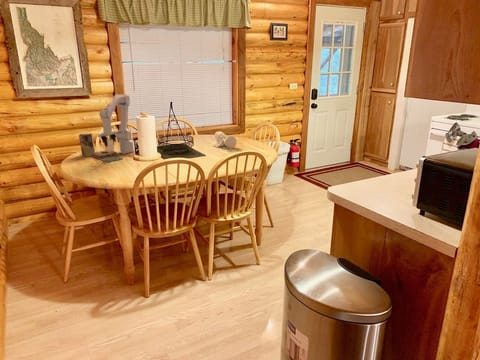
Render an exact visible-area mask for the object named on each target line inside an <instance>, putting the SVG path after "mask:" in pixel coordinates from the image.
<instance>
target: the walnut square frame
mask: <svg viewBox="0 0 480 360" xmlns="http://www.w3.org/2000/svg"><path fill="white" fill-rule="evenodd" d="M118 155H119V154H118V152H117V151H115V150H114V151H109V152H108V151H106V150H101V151H95V152H94V153H93V156H92V157H94V158H96V159H98V160H101V159H103V158H108V157H113V156H118ZM118 157H119V156H118Z"/></svg>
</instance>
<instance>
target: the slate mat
mask: <svg viewBox="0 0 480 360" xmlns="http://www.w3.org/2000/svg"><path fill="white" fill-rule="evenodd" d="M100 160H101V161H103V162H104V163H111V162H115V161H121V160H123V158H122V157H120V156H113V157H108V158H103V159H100Z"/></svg>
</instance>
